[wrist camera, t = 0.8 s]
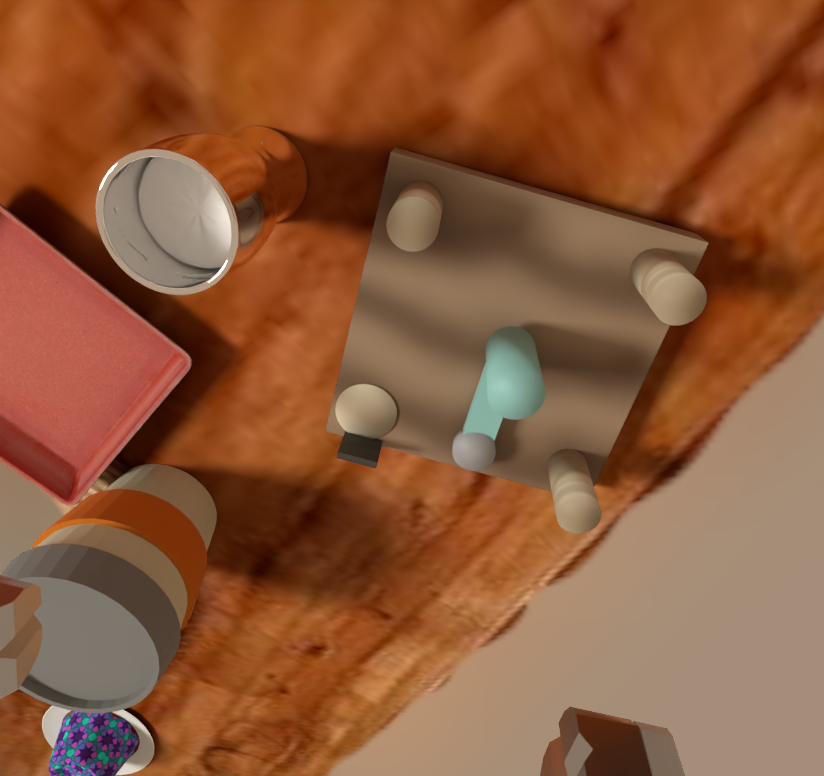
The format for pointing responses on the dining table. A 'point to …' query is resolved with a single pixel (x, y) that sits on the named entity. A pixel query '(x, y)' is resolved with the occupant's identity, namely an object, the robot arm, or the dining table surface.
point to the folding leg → (500, 395)
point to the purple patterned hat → (95, 743)
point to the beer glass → (198, 205)
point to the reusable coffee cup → (117, 588)
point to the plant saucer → (71, 366)
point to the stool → (507, 322)
